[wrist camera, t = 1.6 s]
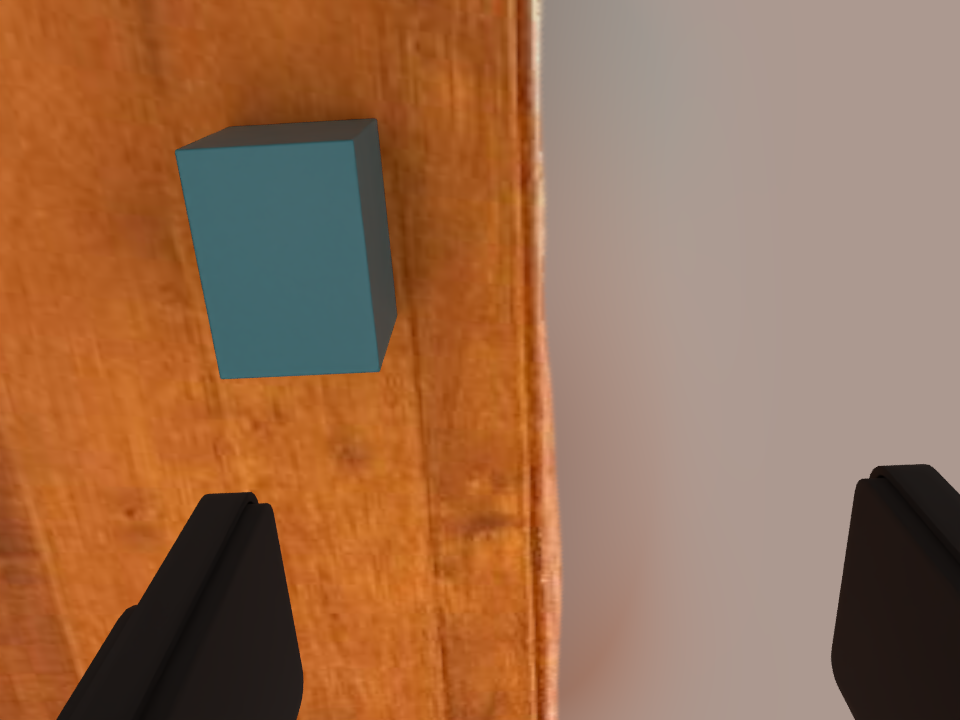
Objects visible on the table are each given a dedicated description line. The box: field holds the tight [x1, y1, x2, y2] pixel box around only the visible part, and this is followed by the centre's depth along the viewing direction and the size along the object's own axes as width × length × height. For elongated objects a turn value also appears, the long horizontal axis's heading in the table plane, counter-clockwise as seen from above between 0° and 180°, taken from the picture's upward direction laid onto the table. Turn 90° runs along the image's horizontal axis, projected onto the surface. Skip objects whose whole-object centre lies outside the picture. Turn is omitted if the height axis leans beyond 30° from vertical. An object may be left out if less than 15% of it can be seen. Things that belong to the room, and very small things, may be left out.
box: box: [175, 118, 397, 379], centre depth 26 cm, size 5×7×5 cm
